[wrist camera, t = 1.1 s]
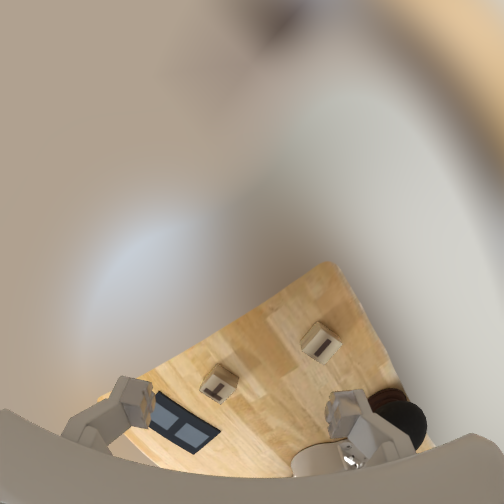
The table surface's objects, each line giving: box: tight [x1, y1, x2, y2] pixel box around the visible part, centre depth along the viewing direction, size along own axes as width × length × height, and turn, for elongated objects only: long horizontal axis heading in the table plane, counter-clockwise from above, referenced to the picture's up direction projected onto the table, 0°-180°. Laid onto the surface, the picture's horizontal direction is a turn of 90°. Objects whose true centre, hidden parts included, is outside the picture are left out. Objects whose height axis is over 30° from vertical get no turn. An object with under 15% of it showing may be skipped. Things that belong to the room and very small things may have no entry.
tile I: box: [300, 321, 343, 365], centre depth 45 cm, size 5×5×4 cm
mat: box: [149, 391, 221, 455], centre depth 51 cm, size 16×12×1 cm
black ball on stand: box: [367, 388, 427, 451], centre depth 40 cm, size 13×13×15 cm
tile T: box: [199, 364, 239, 404], centre depth 47 cm, size 5×5×4 cm
